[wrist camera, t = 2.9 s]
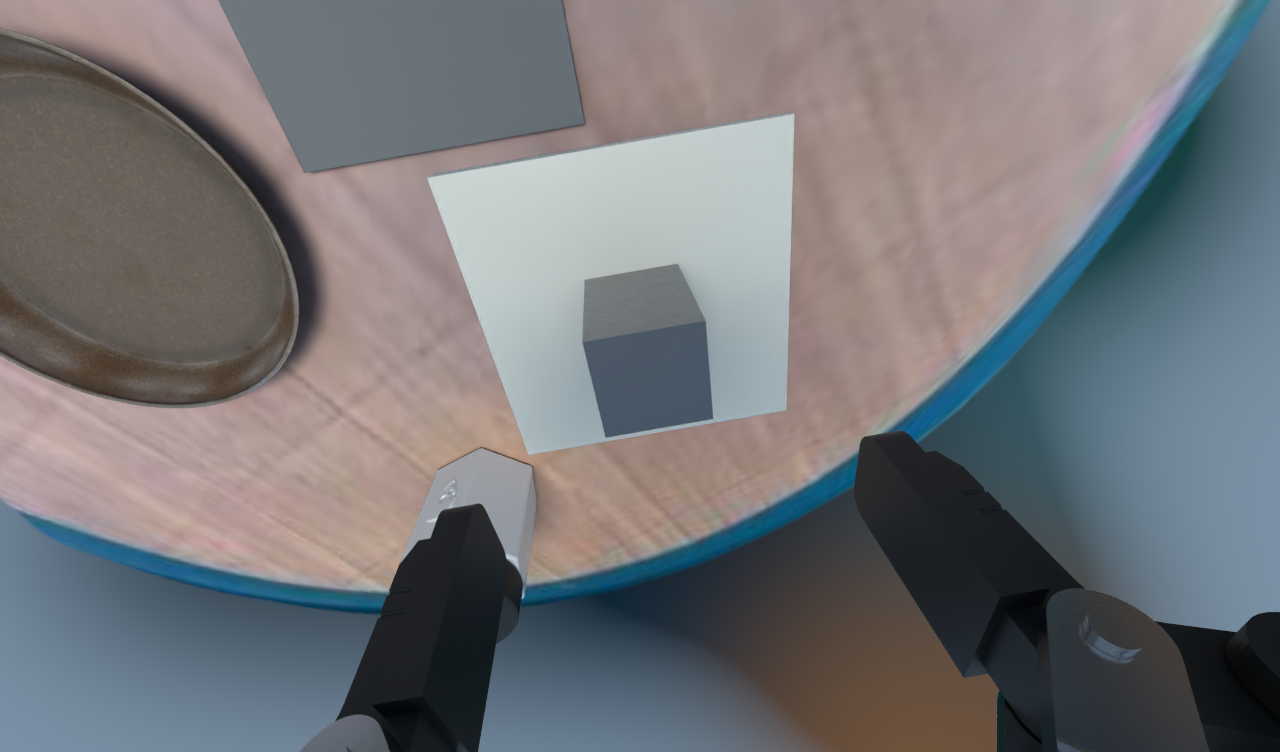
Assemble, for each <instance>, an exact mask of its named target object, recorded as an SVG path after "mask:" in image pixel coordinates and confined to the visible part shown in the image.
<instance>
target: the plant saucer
mask: <svg viewBox="0 0 1280 752" xmlns="http://www.w3.org/2000/svg"><path fill="white" fill-rule="evenodd" d="M298 322H299V298H298V289H297V282H296V278H295V273H294V269H293V266H292V263H291V260H290V257H289V254H288V251H287V249H286V246H285V244H284V242H283V239H282V237H281V235H280V233H279V231H278V229H277V227H276V226H275V224H274V222H273V220H272V219H271V217H270V215H269V214H268V212H267V210H266V209H265V207H264V206H263V204H262V203H261V201H260V200H259V199H258V197H257V196H256V194H255V193H254V192H253V190H252V189H251V188H250V187H249V185H248V184H247V183H246V182H245V180H244V179H243V178H242V177H241V176H240V174H239V173H238V172H237V171H236V170H235V169H234V168H233V167H232V166H231V164H230V163H229V162H228V161H227V160H226V159H225V158H224V157H223V156H222V155H221V154H220V153H219V152H218V151H217V150H216V149H215V148H214V147H213V146H212V145H211V144H210V143H209V142H208V141H207V140H205V139H204V138H203V137H202V136H201V135H200V134H199V133H198V132H197V131H195V130H194V129H193V128H192V127H191V126H189V125H188V124H187V123H186V122H184V121H183V120H182V119H180V118H179V117H178V116H176V115H175V114H174V113H172V112H171V111H170V110H169V109H167V108H166V107H164V106H163V105H162V104H160V103H159V102H157V101H156V100H154V99H153V98H151V97H150V96H148V95H147V94H145V93H144V92H142V91H141V90H139V89H138V88H136V87H135V86H133V85H131V84H130V83H128V82H126V81H125V80H123V79H122V78H120V77H118V76H116V75H114V74H113V73H111V72H109V71H107V70H105V69H104V68H102V67H100V66H98V65H96V64H94V63H92V62H90V61H88V60H86V59H84V58H82V57H80V56H78V55H76V54H73V53H71V52H69V51H66V50H64V49H62V48H60V47H57V46H55V45H52V44H50V43H47V42H44V41H41V40H38V39H36V38H33V37H30V36H27V35H23V34H20V33H16V32H13V31H9V30H6V29H2V28H0V356H2V357H4V358H5V359H7V360H9V361H11V362H13V363H15V364H16V365H18V366H20V367H22V368H24V369H26V370H28V371H31V372H33V373H35V374H37V375H39V376H42V377H44V378H46V379H49V380H52V381H55V382H57V383H59V384H61V385H64V386H67V387H69V388H72V389H75V390H78V391H81V392H84V393H87V394H90V395H94V396H98V397H101V398H105V399H109V400H113V401H118V402H122V403H127V404H133V405H140V406H148V407H158V408H195V407H204V406H210V405H215V404H220V403H224V402H228V401H231V400H234V399H237V398H239V397H242V396H244V395H246V394H248V393H250V392H252V391H254V390H256V389H257V388H259V387H261V386H262V385H263V384H265V383H266V382H267V381H269V380H270V379H271V378H272V377H273V376H274V375H275V374H276V373H277V372H278V371H279V369H280V368H281V367H282V366H283V364H284V363H285V361H286V359H287V358H288V356H289V354H290V352H291V349H292V347H293V345H294V342H295V338H296V334H297V330H298Z"/></svg>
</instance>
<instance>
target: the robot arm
mask: <svg viewBox="0 0 1280 752" xmlns="http://www.w3.org/2000/svg"><path fill="white" fill-rule="evenodd" d="M854 496H855V501H856V505H857V507H858V510H859V513H860V515H861V517H862V518H863V520H864V522H865V523H866V525H867V526H868V528H869V529H870V531H871V533H872V534H873V536H874V537H875V539H876V541H877V542H878V544H879V545H880V547H881V548H882V550H883V551H884V553H885V555H886V556H887V558H888V559H889V561H890V563H891V564H892V566H893V567H894V569H895V570H896V572H897V574H898V575H899V577H900V578H901V579H902V581H903V583H904V584H905V586H906V588H907V589H908V591H909V592H910V594H911V595H912V597H913V598H914V600H915V602H916V603H917V605H918V607H919V608H920V610H921V611H922V613H923V614H924V616H925V617H926V619H927V621H928V622H929V624H930V625H931V627H932V628H933V630H934V632H935V633H936V635H937V636H938V638H939V639H940V641H941V642H942V644H943V646H944V647H945V649H946V650H947V652H948V654H949V655H950V657H951V658H952V660H953V661H954V663H955V665H956V666H957V668H958V669H959V671H960V672H961V674H962V676H963V677H964V678H965V677H971V676H976V675H982V674H989V675H990V676H991V678H992V679H993V681H994V682H995V684H996V685H997V687H998V688H999V692H998V695H997V752H1280V612H1266V613H1261V614H1257V615H1256V616H1254V617H1252V618H1251V619H1250V620H1249V621H1248V622H1247V623H1246V624H1245V625H1244V626H1243V627H1242V628H1241V629H1240V630H1239V631H1238V632H1230V631H1221V630H1215V629H1207V628H1200V627H1192V626H1184V625H1177V624H1169V623H1163V622H1156V621H1154V620H1153V619H1151V618H1150V617H1149V616H1148V615H1146V614H1145V613H1143V612H1142V611H1140V610H1139V609H1137V608H1136V607H1134V606H1132V605H1130V604H1128V603H1127V602H1125V601H1123V600H1120V599H1118V598H1116V597H1114V596H1111V595H1108V594H1105V593H1102V592H1098V591H1095V590H1089V589H1085V588H1084V587H1083V586H1081V585H1080V584H1079V583H1078V582H1077V581H1076V580H1075V579H1074V578H1073V577H1072V576H1070V574H1069V573H1068V572H1067V571H1066V570H1065V569H1064V568H1063V567H1062V566H1061V565H1060V564H1059V563H1058V562H1057V561H1056V560H1055V559H1054V558H1053V557H1052V556H1051V555H1050V554H1049V553H1048V552H1047V551H1046V550H1045V549H1044V548H1043V547H1042V546H1041V545H1040V544H1039V543H1038V542H1037V541H1036V540H1035V539H1034V538H1033V537H1032V536H1031V535H1030V534H1029V533H1028V532H1027V531H1026V530H1025V529H1024V528H1023V527H1022V526H1021V525H1020V524H1019V523H1018V522H1017V521H1016V520H1015V519H1014V518H1013V517H1012V516H1011V515H1010V514H1009V513H1008V512H1007V511H1006V510H1003V509H1002V508H1001V505H1000V504H999V503H998V502H997V501H996V500H995V499H994V498H993V497H992V495H991V494H989V492H985V491H984V488H983V486H982V485H981V484H979V482H978V481H977V480H975V478H974V477H973V476H972V475H971V474H969V472H968V471H967V470H966V469H965V468H964V467H963V466H961V465H959V464H957V463H956V462H953V461H952V460H950V459H949V458H947V457H945V456H944V455H942V454H940V453H938V452H937V451H932V452H927V453H925V451H924V450H922V448H921V447H920V446H919V445H918V444H917V443H916V442H915V441H914V440H913V438H912V437H911V436H910V435H909V434H907V433H906V432H904V431H895V432H889V433H883V434H878V435H872V436H866V437H864V438H863V439H862V440H861V443H860V449H859V456H858V463H857V470H856V477H855V485H854ZM506 581H507V559H506V554H505V551H504V548H503V546H502V543H501V541H500V539H499V537H498V535H497V533H496V531H495V529H494V527H493V524H492V522H491V520H490V518H489V516H488V514H487V512H486V510H485V508H484V506H483V505H482V504H480V503H478V504H472V505H467V506H461V507H455V508H450V509H444V510H442V511H441V512H440V514H439V516H438V518H437V521H436V524H435V527H434V529H433V532H432V535H431V538H429V539H424V540H418V542H417V543H416V544H415V545H414V547H413V548H412V549H411V551H410V552H409V553H408V554H407V556H406V557H405V558H404V559H403V561H402V562H401V563H400V564H399V567H398V569H397V572H396V574H395V577H394V580H393V582H392V585H391V587H390V590H389V592H390V594H389V596H387V597H386V600H385V602H384V605H383V607H382V610H381V612H380V613H381V617H380V618H378V620H377V622H376V625H375V627H374V630H373V632H372V635H371V637H370V640H369V642H368V645H367V647H366V650H365V652H364V655H363V657H362V660H361V662H360V665H359V668H358V670H357V673H356V675H355V678H354V680H353V683H352V685H351V688H350V690H349V693H348V695H347V698H346V700H345V703H344V705H343V707H342V710H341V712H340V714H339V716H338V717H337V719H336V721H335V722H334V723H332V724H330V725H329V726H327V727H326V728H324V729H323V730H321V731H320V732H319V733H318V734H317V735H315V736H314V737H313V738H312V739H311V740H310V741H309V742H308V743H307V744H306V745H305V746H304V747H303V749H302V750H301V751H300V752H478V748H479V742H480V736H481V730H482V724H483V718H484V712H485V706H486V700H487V694H488V688H489V682H490V676H491V670H492V664H493V658H494V652H495V646H496V641H497V635H498V629H499V623H500V617H501V611H502V605H503V599H504V593H505V587H506Z"/></svg>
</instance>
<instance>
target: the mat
mask: <svg viewBox="0 0 1280 752" xmlns="http://www.w3.org/2000/svg"><path fill="white" fill-rule="evenodd" d="M219 2H220V5H221V7H222V9H223V11H224V13H225V15H226V17H227V19H228V21H229V23H230V25H231V27H232V29H233V31H234V33H235V35H236V37H237V39H238V41H239V43H240V45H241V47H242V49H243V51H244V53H245V55H246V57H247V59H248V61H249V63H250V65H251V67H252V69H253V71H254V73H255V75H256V77H257V79H258V81H259V83H260V85H261V87H262V89H263V91H264V93H265V95H266V97H267V99H268V101H269V103H270V105H271V107H272V109H273V111H274V113H275V115H276V117H277V119H278V121H279V123H280V125H281V127H282V129H283V131H284V133H285V135H286V137H287V139H288V141H289V143H290V145H291V147H292V149H293V151H294V153H295V155H296V157H297V159H298V161H299V163H300V165H301V167H302V169H303V171H304V173H308V172H313V171H319V170H325V169H330V168H336V167H342V166H347V165H353V164H359V163H364V162H370V161H376V160H381V159H387V158H393V157H398V156H404V155H410V154H415V153H421V152H427V151H432V150H438V149H444V148H449V147H455V146H461V145H467V144H472V143H478V142H484V141H489V140H495V139H501V138H506V137H512V136H518V135H523V134H529V133H535V132H540V131H546V130H552V129H557V128H563V127H569V126H574V125H580V124H585V122H584V116H583V111H582V106H581V100H580V95H579V90H578V84H577V79H576V74H575V68H574V63H573V58H572V52H571V47H570V42H569V36H568V31H567V26H566V20H565V15H564V10H563V4H562V0H219Z"/></svg>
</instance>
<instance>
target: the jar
mask: <svg viewBox="0 0 1280 752" xmlns="http://www.w3.org/2000/svg"><path fill="white" fill-rule="evenodd" d="M478 503H480V504H482V505H483V506H484V508H485V510H486V512H487V514H488V516H489V518H490V520H491V522H492V524H493V527H494V529H495V531H496V533H497V535H498V537H499V539H500V541H501V543H502V546H503V548H504V551H505V554H506V559H507V581H506V587H505V593H504V599H503V605H502V611H501V617H500V623H499V629H498V635H497V641H496V644H497V643H499V642H501V641H502V640H504V639H505V638H507V637H508V636H509V635H510V634H511V633H512V632H513V631H514V629H515V628H516V626H517V623H518V620H519V613H520V606H521V599H523V598H524V596H525V590H526V582H527V575H528V567H529V559H530V552H531V544H532V536H533V529H534V521H535V513H536V506H537V501H536V494H535V486H534V479H533V471H532V467H531V466H530V465H527V464H524V463H522V462H519V461H516V460H513V459H511V458H508V457H505V456H502V455H500V454H497V453H494V452H491V451H489V450H486V449H483V448H479V449H477V450H475V451H474V452H472V453H470V454H468V455H466V456H464V457H462V458H460V459H458V460H456V461H454V462H452V463H450V464H448V465H447V466H445V467H443V468H441V469H439V470H438V471H437V472H436V475H435V477H434V480H433V482H432V485H431V487H430V490H429V492H428V495H427V497H426V500H425V502H424V505H423V507H422V510H421V512H420V515H419V517H418V520H417V522H416V525H415V527H414V530H413V532H412V535H411V537H410V540H409V542H408V545H407V547H406V550H405V552H404V555H403V557H402V560H401V562H402V561H403V559H404V558H405V557H406V556H407V554H408V553H409V552H410V551H411V549H412V548H413V547H414V545H415V544H416V543H417V542H418V540H424V539H429V538H431V535H432V532H433V529H434V527H435V524H436V521H437V518H438V516H439V514H440V512H441V511H442V510H444V509H450V508H455V507H461V506H467V505H472V504H478ZM401 562H400V563H401Z"/></svg>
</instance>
